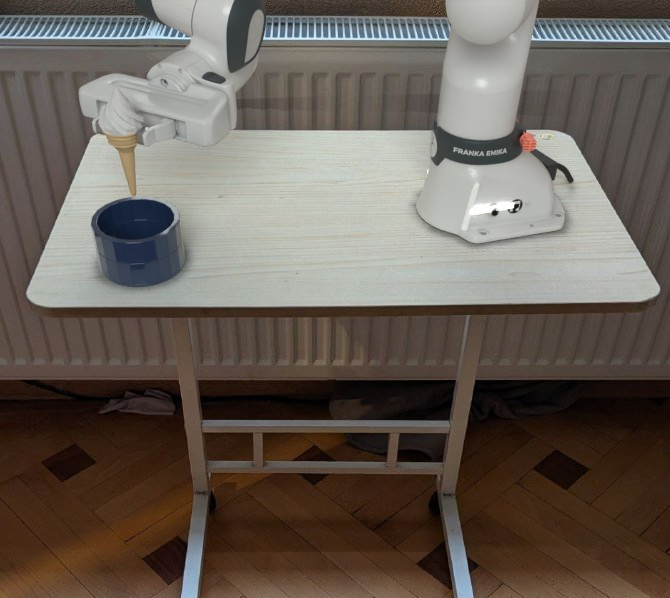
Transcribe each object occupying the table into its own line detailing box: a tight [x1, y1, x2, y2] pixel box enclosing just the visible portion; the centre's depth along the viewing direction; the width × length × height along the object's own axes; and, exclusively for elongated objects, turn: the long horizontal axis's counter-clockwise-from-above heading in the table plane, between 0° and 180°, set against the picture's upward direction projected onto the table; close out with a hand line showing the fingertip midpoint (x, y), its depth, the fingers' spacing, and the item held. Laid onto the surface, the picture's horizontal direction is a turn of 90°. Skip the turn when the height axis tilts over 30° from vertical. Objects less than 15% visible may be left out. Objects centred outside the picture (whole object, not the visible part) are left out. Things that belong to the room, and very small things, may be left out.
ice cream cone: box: [98, 85, 144, 197], centre depth 104 cm, size 6×6×15 cm
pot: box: [90, 195, 186, 288], centre depth 113 cm, size 12×12×7 cm
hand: (119, 134), depth 102 cm, fingers closed on ice cream cone, 5 cm apart
